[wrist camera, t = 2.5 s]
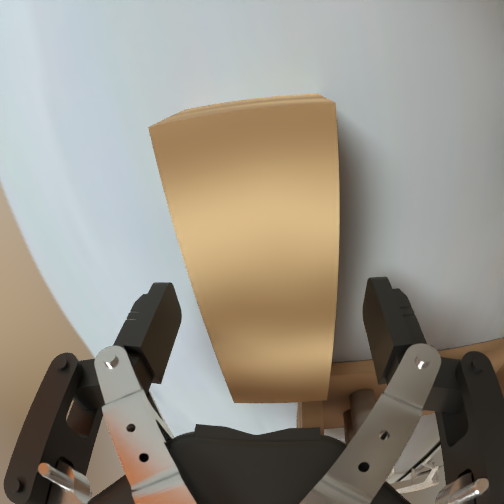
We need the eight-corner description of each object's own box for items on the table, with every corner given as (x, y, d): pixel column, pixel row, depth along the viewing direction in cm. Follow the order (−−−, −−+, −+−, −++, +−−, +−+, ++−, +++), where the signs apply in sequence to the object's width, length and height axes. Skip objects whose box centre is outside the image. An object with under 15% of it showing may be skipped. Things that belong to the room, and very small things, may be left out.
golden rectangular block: (187, 108, 11) (148, 127, 7) (316, 93, 10) (335, 102, 7) (241, 347, 18) (234, 402, 15) (321, 344, 18) (326, 400, 14)
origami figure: (451, 449, 33) (456, 473, 28) (435, 463, 37) (438, 484, 33) (385, 466, 34) (388, 492, 30) (375, 477, 39) (377, 500, 35)
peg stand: (300, 364, 18) (300, 498, 11) (521, 333, 16) (560, 420, 9) (296, 420, 23) (294, 513, 16) (478, 392, 21) (499, 466, 14)
